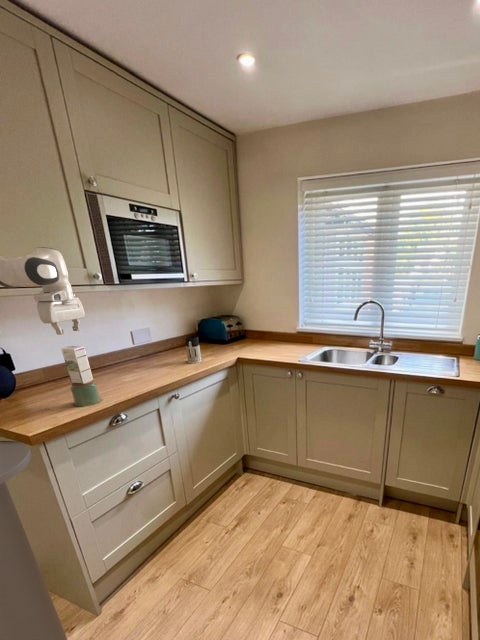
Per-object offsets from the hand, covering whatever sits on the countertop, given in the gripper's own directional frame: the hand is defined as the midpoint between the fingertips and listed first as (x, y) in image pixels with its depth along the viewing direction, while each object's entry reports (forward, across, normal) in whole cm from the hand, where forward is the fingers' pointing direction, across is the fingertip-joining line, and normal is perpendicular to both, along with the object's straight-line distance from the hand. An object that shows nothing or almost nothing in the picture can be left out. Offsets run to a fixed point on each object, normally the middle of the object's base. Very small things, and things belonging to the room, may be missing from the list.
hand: (68, 332), depth 128 cm
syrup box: (+20, 0, 0) cm, 20 cm away
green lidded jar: (+29, 0, 0) cm, 29 cm away
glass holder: (+29, -68, +24) cm, 77 cm away
